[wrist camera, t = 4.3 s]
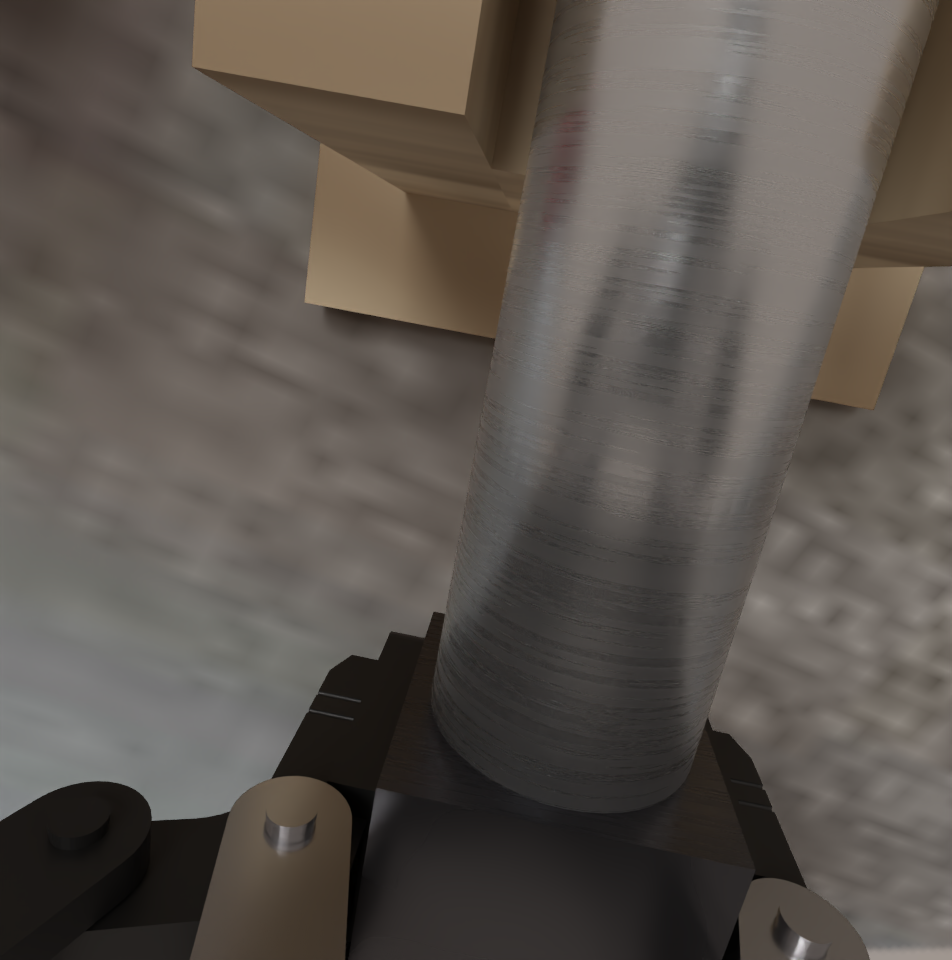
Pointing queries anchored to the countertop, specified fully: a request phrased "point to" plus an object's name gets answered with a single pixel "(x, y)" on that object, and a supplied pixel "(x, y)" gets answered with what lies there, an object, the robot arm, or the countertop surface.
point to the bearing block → (512, 160)
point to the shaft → (630, 477)
